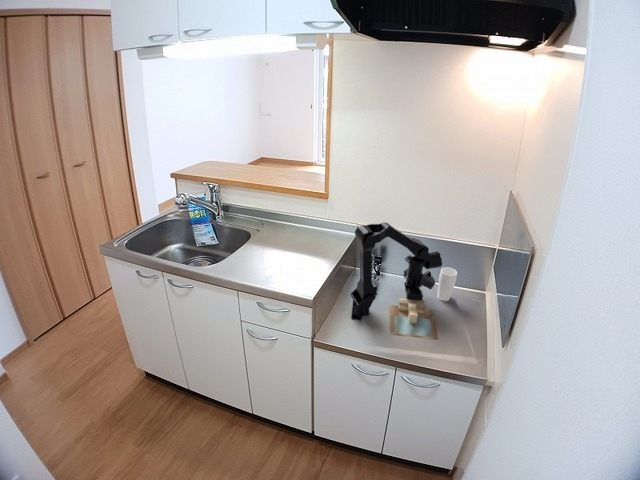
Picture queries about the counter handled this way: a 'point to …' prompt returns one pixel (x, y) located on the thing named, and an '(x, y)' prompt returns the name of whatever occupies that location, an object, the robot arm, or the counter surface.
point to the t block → (411, 308)
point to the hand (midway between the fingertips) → (409, 300)
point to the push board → (412, 324)
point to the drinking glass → (446, 283)
